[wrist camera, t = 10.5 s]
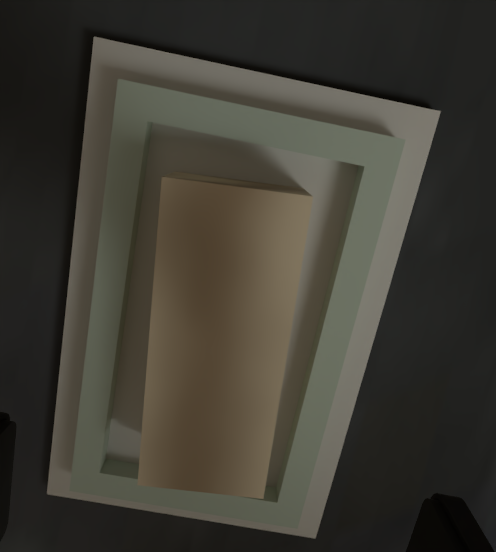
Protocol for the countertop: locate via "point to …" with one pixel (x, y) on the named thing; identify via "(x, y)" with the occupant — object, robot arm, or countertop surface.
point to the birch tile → (219, 331)
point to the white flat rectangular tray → (142, 249)
